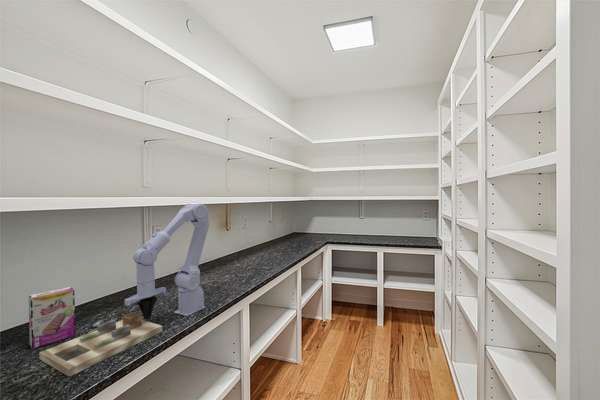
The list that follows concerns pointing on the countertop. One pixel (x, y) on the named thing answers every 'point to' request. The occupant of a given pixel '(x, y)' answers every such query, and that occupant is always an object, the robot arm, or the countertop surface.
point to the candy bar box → (51, 316)
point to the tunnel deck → (97, 345)
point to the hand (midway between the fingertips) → (147, 318)
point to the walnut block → (132, 320)
